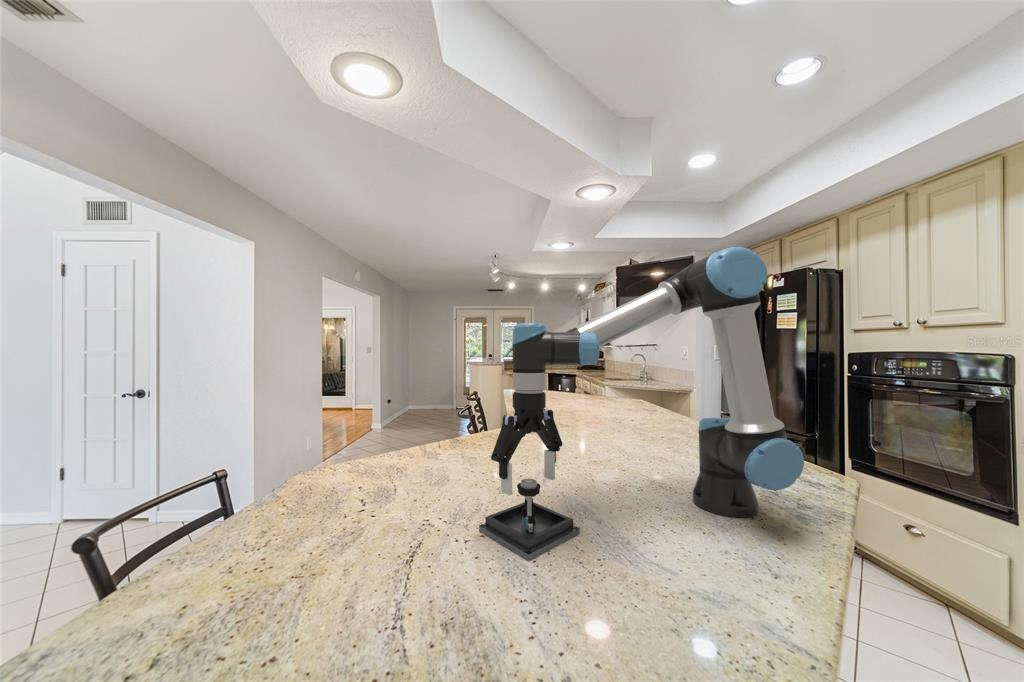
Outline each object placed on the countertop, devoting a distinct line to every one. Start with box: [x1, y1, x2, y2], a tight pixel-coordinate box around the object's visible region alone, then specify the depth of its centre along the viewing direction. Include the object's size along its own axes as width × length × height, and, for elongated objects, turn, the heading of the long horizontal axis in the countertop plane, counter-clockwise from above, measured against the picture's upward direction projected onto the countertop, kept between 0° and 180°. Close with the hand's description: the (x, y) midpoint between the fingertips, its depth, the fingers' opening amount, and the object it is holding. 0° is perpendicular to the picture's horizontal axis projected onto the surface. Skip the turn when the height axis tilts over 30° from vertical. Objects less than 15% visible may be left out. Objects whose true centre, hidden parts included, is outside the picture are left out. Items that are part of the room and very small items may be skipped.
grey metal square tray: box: [478, 501, 581, 562], centre depth 83 cm, size 16×16×3 cm
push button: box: [516, 478, 542, 532], centre depth 83 cm, size 7×5×10 cm
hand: (529, 485), depth 84 cm, fingers open, 13 cm apart
